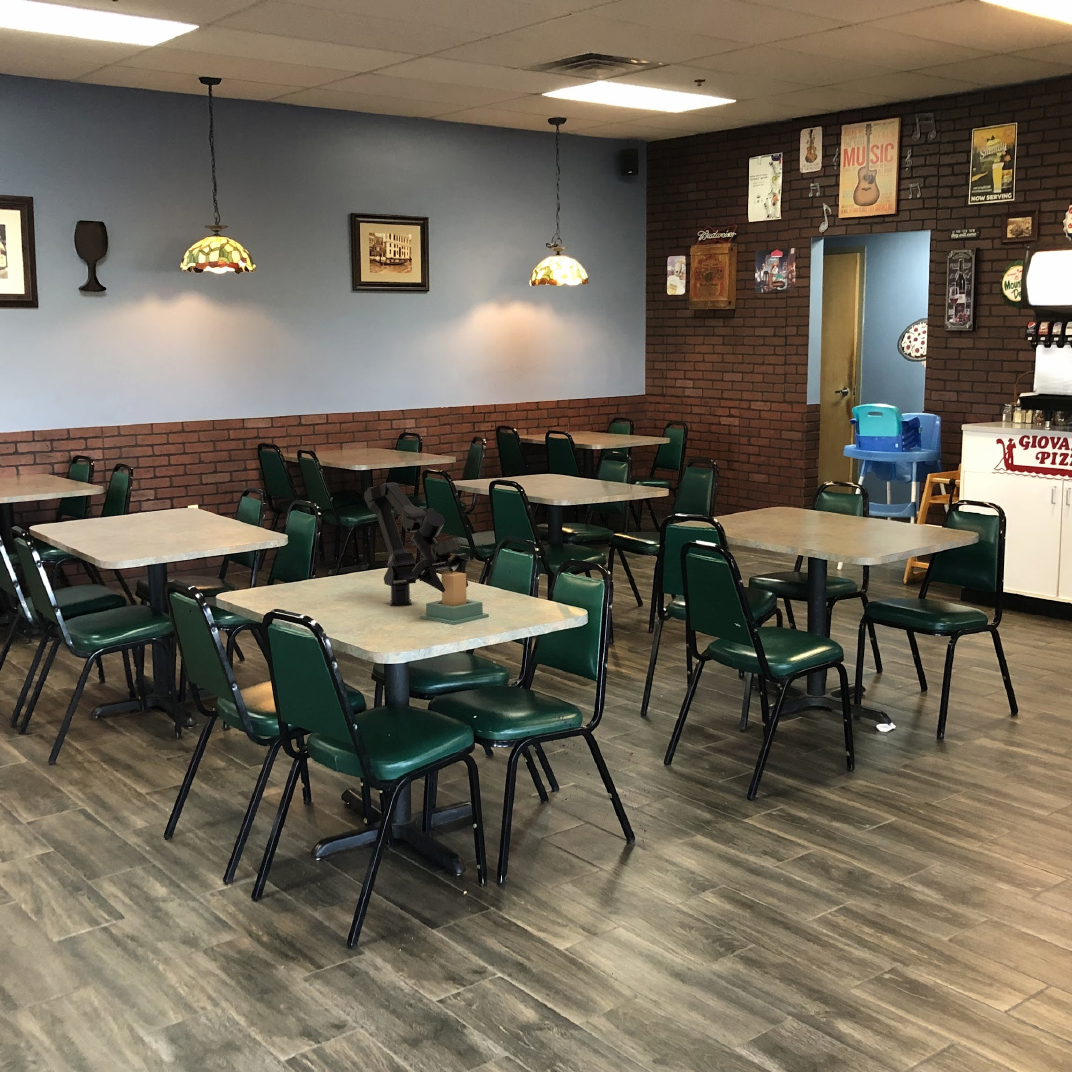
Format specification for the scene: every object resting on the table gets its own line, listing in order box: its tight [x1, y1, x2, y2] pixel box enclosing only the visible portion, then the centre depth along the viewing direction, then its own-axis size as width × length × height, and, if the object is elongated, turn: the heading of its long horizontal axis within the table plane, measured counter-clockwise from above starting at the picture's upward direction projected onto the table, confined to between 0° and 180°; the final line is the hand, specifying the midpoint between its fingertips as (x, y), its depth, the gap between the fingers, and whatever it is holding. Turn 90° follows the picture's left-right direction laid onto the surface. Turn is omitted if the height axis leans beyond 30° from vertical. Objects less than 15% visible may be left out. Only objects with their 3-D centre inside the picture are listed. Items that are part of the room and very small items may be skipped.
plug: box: [440, 571, 468, 606], centre depth 350 cm, size 5×5×12 cm
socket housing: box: [419, 599, 490, 626], centre depth 350 cm, size 14×14×4 cm
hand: (455, 588), depth 349 cm, fingers open, 9 cm apart
